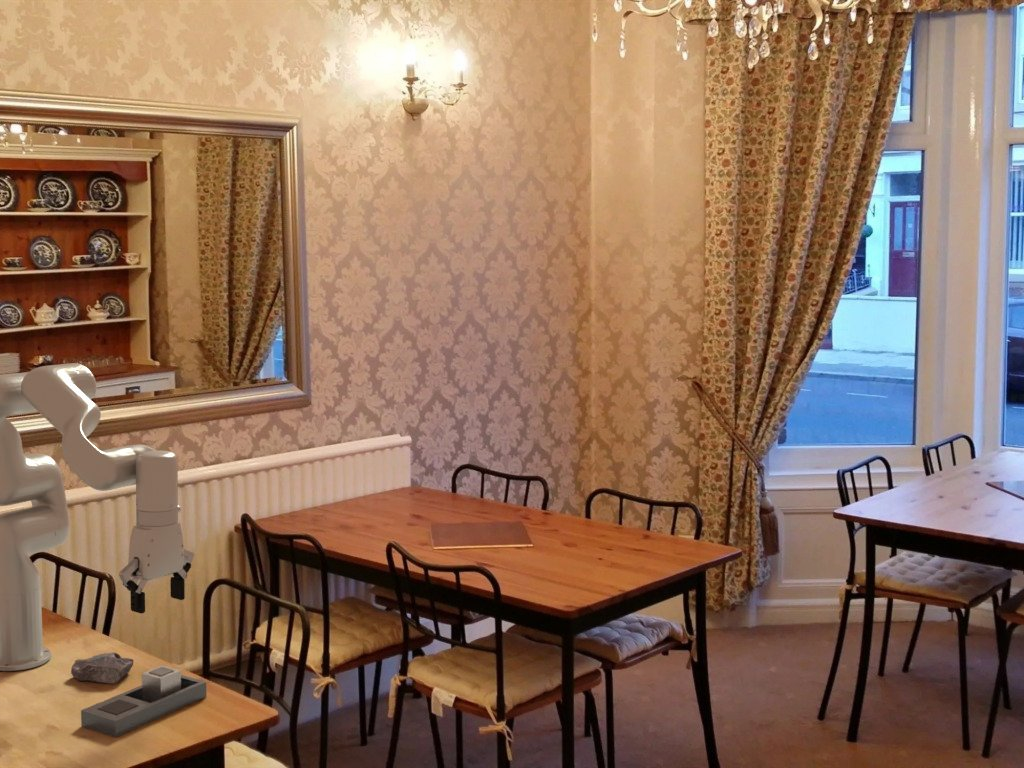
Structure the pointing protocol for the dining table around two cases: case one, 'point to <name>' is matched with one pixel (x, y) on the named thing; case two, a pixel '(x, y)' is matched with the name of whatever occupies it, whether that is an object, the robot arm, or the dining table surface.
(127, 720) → the grey tray with recess
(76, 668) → the rock
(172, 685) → the gray cube
